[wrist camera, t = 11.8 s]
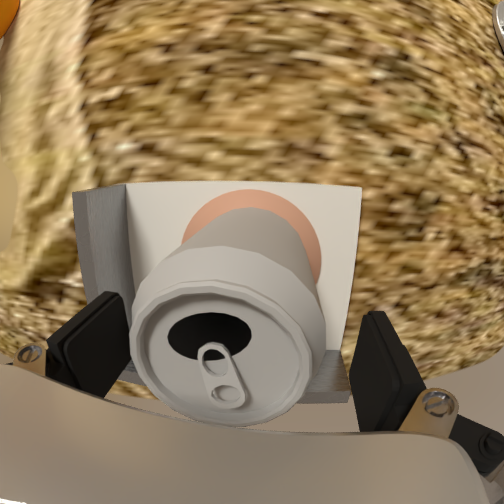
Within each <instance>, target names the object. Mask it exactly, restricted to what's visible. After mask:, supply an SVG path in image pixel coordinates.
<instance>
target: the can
mask: <svg viewBox="0 0 504 504" xmlns="http://www.w3.org/2000/svg"><path fill="white" fill-rule="evenodd" d="M129 337H130V355H131V357H132V360H133V362H134V365H135V367H136V370H137V372H138V374H139V376H140V378H141V379H142V380H143V382H144V383H145V384H146V385H147V387H148V388H149V389H150V390H151V392H152V393H153V394H154V395H155V396H156V397H157V398H158V399H160V400H161V401H163V402H164V403H165V404H166V405H168V406H169V407H170V408H171V409H173V410H174V411H176V412H178V413H180V414H182V415H184V416H186V417H189V418H191V419H193V420H195V421H199V422H203V423H208V424H214V425H221V426H228V427H246V426H250V425H256V424H260V423H265V422H268V421H270V420H272V419H274V418H276V417H278V416H280V415H282V414H284V413H286V412H288V411H289V410H290V409H291V408H292V407H293V406H294V405H295V404H296V403H297V402H298V401H299V400H300V399H301V398H302V397H303V396H304V394H305V391H306V389H307V387H308V384H309V382H310V381H311V380H312V379H313V378H314V376H315V375H316V374H317V372H318V369H319V367H320V365H321V362H322V360H323V357H324V355H325V352H326V323H325V319H324V315H323V311H322V307H321V304H320V300H319V296H318V292H317V289H316V285H315V281H314V278H313V274H312V271H311V267H310V264H309V260H308V257H307V253H306V250H305V248H304V245H303V243H302V241H301V238H300V236H299V234H298V232H297V231H296V230H295V229H294V228H293V227H292V226H291V225H290V224H289V223H288V221H287V220H285V219H284V218H282V217H280V216H278V215H277V214H275V213H273V212H271V211H269V210H264V209H259V208H254V207H248V208H239V209H233V210H231V211H228V212H226V213H224V214H222V215H220V216H218V217H216V218H215V219H214V220H212V221H211V222H210V223H209V224H207V225H206V226H205V227H203V228H202V229H201V230H200V231H198V232H197V233H196V234H195V235H193V236H192V237H191V238H189V239H188V240H187V241H186V242H184V243H183V244H182V245H181V246H179V247H178V248H177V249H176V250H174V251H173V252H172V253H171V254H169V255H168V256H167V257H166V258H165V259H163V260H162V261H161V262H160V263H159V264H158V265H157V266H156V267H155V268H154V269H153V270H152V271H151V272H150V273H149V274H148V276H147V277H146V278H145V279H144V280H143V281H142V282H141V283H140V286H139V289H138V291H137V294H136V297H135V300H134V302H133V305H132V327H131V329H130V332H129Z"/></svg>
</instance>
